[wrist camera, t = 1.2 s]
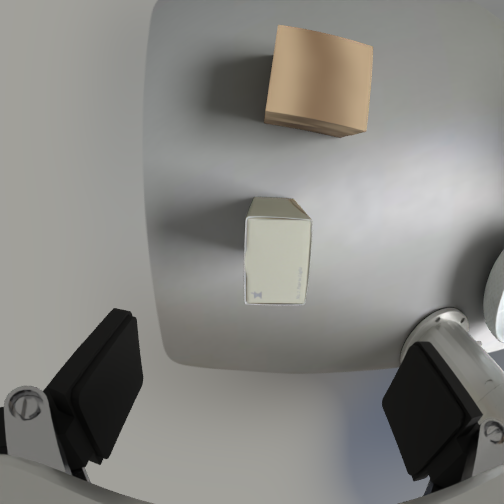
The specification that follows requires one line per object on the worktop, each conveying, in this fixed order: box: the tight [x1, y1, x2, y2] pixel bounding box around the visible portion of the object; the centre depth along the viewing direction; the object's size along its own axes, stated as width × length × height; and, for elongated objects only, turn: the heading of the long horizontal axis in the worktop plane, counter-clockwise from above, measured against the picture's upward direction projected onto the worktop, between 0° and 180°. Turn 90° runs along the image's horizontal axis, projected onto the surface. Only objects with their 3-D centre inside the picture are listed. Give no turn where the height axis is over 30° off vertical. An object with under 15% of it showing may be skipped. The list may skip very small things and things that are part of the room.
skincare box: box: [244, 197, 313, 306], centre depth 24 cm, size 6×4×12 cm
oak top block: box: [265, 25, 373, 135], centre depth 20 cm, size 8×8×4 cm
